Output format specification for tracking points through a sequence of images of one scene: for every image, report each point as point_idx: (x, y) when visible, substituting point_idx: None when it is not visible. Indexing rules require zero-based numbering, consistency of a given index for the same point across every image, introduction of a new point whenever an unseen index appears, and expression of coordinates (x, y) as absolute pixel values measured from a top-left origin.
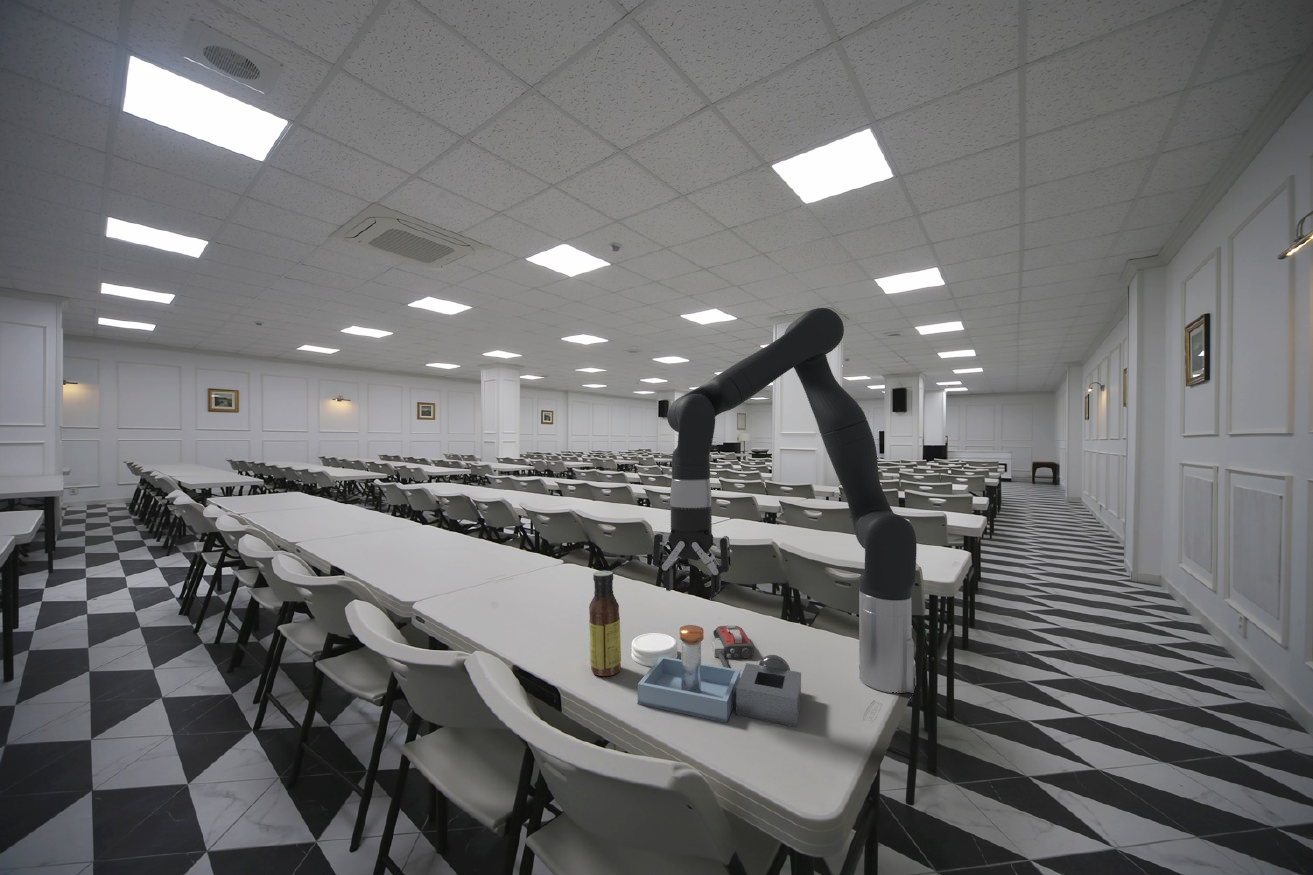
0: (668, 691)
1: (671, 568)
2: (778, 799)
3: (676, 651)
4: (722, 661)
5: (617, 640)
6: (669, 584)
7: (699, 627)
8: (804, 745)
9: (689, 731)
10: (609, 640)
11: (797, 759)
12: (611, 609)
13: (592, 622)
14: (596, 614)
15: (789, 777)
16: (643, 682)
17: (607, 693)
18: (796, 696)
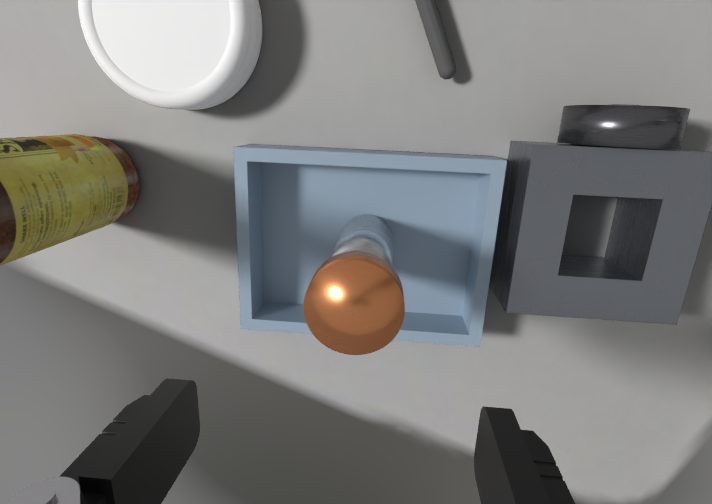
0: None
1: (101, 497)
2: (570, 490)
3: (255, 17)
4: (427, 27)
5: (75, 207)
6: (179, 471)
7: (380, 277)
8: (640, 353)
9: (396, 370)
10: (57, 239)
11: (617, 397)
12: None
13: None
14: None
15: (595, 443)
16: (251, 318)
17: (170, 285)
18: (677, 310)
